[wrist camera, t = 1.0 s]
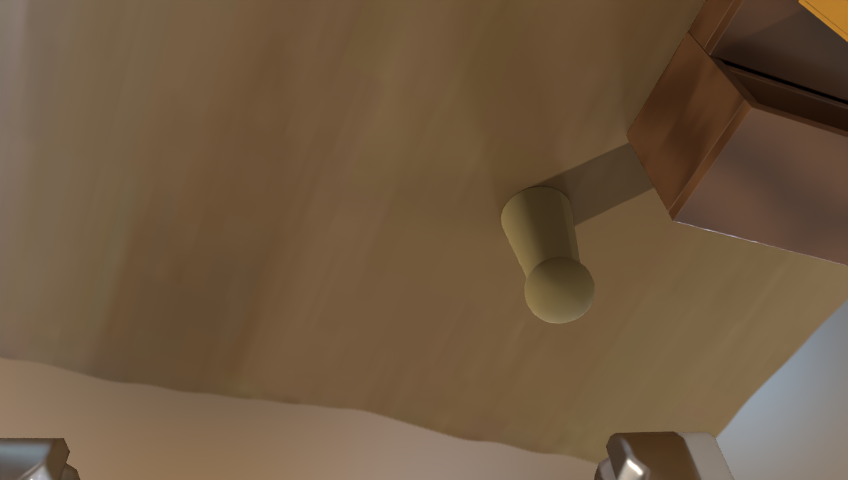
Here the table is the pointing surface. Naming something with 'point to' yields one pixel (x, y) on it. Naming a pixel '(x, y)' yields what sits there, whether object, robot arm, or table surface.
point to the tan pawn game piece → (548, 254)
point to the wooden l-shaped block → (753, 128)
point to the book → (830, 14)
